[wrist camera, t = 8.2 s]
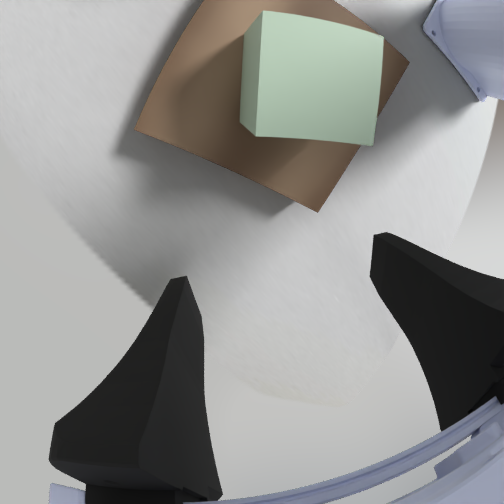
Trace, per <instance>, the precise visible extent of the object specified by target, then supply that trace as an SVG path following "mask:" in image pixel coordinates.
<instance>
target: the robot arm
mask: <svg viewBox="0 0 504 504" xmlns="http://www.w3.org/2000/svg"><path fill="white" fill-rule="evenodd" d="M423 30H424V32H425V33H426V34H427V35H428V36H429V37H430V38H431V40H432V41H433V42H434V43H435V44H436V45H437V46H438V47H439V48H440V50H441V51H442V52H443V53H444V54H445V55H446V57H447V58H448V59H449V60H450V61H451V63H452V64H453V65H454V66H455V68H456V69H457V70H458V71H459V73H460V74H461V75H462V77H463V78H464V79H465V81H466V82H467V83H468V85H469V86H470V88H471V89H472V90H473V92H474V93H475V95H476V96H477V98H478V99H479V100H480V101H482V102H484V101H485V100H486V98H487V96H490V97H494V98H497V99H501V100H504V0H437V1H436V3H435V4H434V6H433V8H432V10H431V12H430V13H429V15H428V17H427V19H426V21H425V22H424V24H423ZM432 32H433V34H432ZM370 278H371V280H372V282H373V284H374V286H375V288H376V290H377V292H378V294H379V296H380V297H381V299H382V300H383V302H384V303H385V305H386V306H387V308H388V309H389V311H390V312H391V314H392V315H393V317H394V318H395V320H396V321H397V323H398V324H399V326H400V327H401V329H402V330H403V332H404V333H405V335H406V336H407V338H408V340H409V342H410V343H411V345H412V347H413V349H414V351H415V353H416V356H417V358H418V360H419V362H420V365H421V367H422V369H423V372H424V374H425V377H426V379H427V382H428V385H429V388H430V391H431V394H432V397H433V400H434V404H435V408H436V411H437V416H438V419H439V425H440V429H441V431H442V432H440V433H438V434H437V435H435V436H433V437H431V438H429V439H427V440H425V441H424V442H422V443H420V444H418V445H416V446H414V447H412V448H410V449H408V450H406V451H404V452H401V453H399V454H397V455H395V456H392V457H390V458H388V459H385V460H383V461H381V462H378V463H376V464H373V465H371V466H368V467H366V468H363V469H361V470H358V471H355V472H352V473H349V474H346V475H343V476H340V477H337V478H333V479H330V480H327V481H323V482H320V483H316V484H313V485H309V486H305V487H301V488H297V489H292V490H288V491H283V492H278V493H273V494H267V495H262V496H255V497H248V498H240V499H232V500H223V501H222V500H221V501H218V499H220V497H221V496H222V495H223V493H222V489H221V485H220V481H219V477H218V473H217V469H216V464H215V459H214V454H213V450H212V445H211V439H210V433H209V427H208V421H207V413H206V407H205V395H204V334H203V325H202V317H201V314H200V311H199V308H198V306H197V303H196V300H195V297H194V295H193V292H192V289H191V286H190V284H189V281H188V278H187V276H183V277H179V278H174V279H171V280H170V281H169V283H168V285H167V286H166V288H165V290H164V292H163V294H162V296H161V297H160V299H159V301H158V303H157V305H156V307H155V308H154V310H153V312H152V314H151V315H150V317H149V319H148V321H147V322H146V324H145V326H144V327H143V329H142V330H141V332H140V333H139V335H138V337H137V338H136V340H135V342H134V343H133V344H132V346H131V347H130V348H129V350H128V351H127V352H126V354H125V355H124V356H123V358H122V359H121V360H120V362H119V363H118V364H117V365H116V367H115V368H114V369H113V370H112V371H111V372H110V373H109V374H108V375H107V377H106V378H105V379H104V380H103V381H102V382H101V383H100V384H99V385H98V386H97V388H95V389H94V391H92V393H90V394H89V395H88V396H87V397H86V398H85V399H84V400H83V401H82V402H81V403H80V404H79V405H77V406H76V407H75V408H74V409H73V410H71V411H70V412H69V413H67V414H66V415H65V416H64V417H62V418H61V419H60V420H59V421H57V422H56V423H55V425H54V430H53V436H52V441H51V447H50V454H49V461H50V463H51V464H52V465H53V466H54V467H55V468H56V469H58V470H60V471H61V472H63V473H65V474H67V475H69V476H71V477H73V478H75V479H77V480H79V481H81V482H83V483H85V484H86V491H83V490H80V489H76V488H72V487H67V486H63V485H59V484H54V483H51V484H50V492H49V504H324V503H328V502H331V501H334V500H337V499H341V498H344V497H347V496H350V495H352V494H356V493H358V492H361V491H364V490H366V489H369V488H372V487H374V486H377V485H379V484H382V483H384V482H386V481H389V480H391V479H393V478H395V477H398V476H400V475H402V474H404V473H406V472H408V471H410V470H412V469H414V468H416V467H418V466H420V465H422V464H424V463H426V462H428V461H429V460H431V459H433V458H435V457H437V456H438V455H440V454H442V453H443V452H445V451H447V450H449V449H450V448H452V447H453V446H455V445H456V444H458V443H460V442H461V441H463V440H464V439H466V438H467V437H469V436H470V435H472V436H471V440H470V441H469V442H467V443H466V444H465V445H463V446H461V447H460V448H459V449H457V450H456V451H455V452H454V453H453V454H451V455H450V456H449V457H447V458H446V459H444V460H443V461H442V462H440V463H438V464H437V465H435V467H434V469H435V471H436V474H437V479H435V480H434V481H432V482H430V483H428V484H427V485H424V486H423V487H421V488H419V489H417V490H415V491H413V492H411V493H409V494H407V495H405V496H403V497H401V498H398V499H396V500H394V501H392V502H389V503H387V504H504V279H500V278H496V277H493V276H489V275H486V274H482V273H479V272H476V271H474V270H471V269H468V268H466V267H463V266H460V265H458V264H456V263H453V262H451V261H449V260H447V259H444V258H442V257H440V256H438V255H436V254H434V253H431V252H429V251H427V250H425V249H423V248H421V247H419V246H417V245H415V244H413V243H411V242H409V241H407V240H405V239H402V238H400V237H398V236H396V235H393V234H391V233H388V232H385V233H380V234H376V235H374V238H373V249H372V260H371V269H370Z"/></svg>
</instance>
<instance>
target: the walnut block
mask: <svg viewBox="0 0 504 504" xmlns="http://www.w3.org/2000/svg"><path fill="white" fill-rule="evenodd" d="M263 10H264V11H273V12H281V13H288V14H295V15H301V16H306V17H312V18H317V19H322V20H326V21H331V22H335V23H339V24H343V25H347V26H351V27H354V28H358V29H361V30H365V31H368V32H371V33H374V34H378V33H377V32H376V31H374V30H373V29H372V28H371V27H369V26H368V25H367V24H366V23H364V22H363V21H362V20H360V19H359V18H358V17H356V16H355V15H354V14H352V13H351V12H350V11H348V10H347V9H345V8H344V7H343V6H341V5H340V4H338V3H337V2H335V1H334V0H204V1H203V2H202V4H201V5H200V7H199V8H198V10H197V11H196V13H195V14H194V16H193V17H192V19H191V20H190V22H189V24H188V25H187V27H186V28H185V30H184V32H183V33H182V35H181V37H180V38H179V40H178V42H177V43H176V45H175V47H174V49H173V50H172V52H171V54H170V56H169V58H168V59H167V61H166V63H165V65H164V67H163V69H162V71H161V73H160V75H159V76H158V78H157V80H156V82H155V84H154V86H153V89H152V91H151V93H150V95H149V97H148V99H147V101H146V103H145V105H144V108H143V110H142V112H141V114H140V117H139V119H138V121H137V124H136V126H135V128H134V130H136V131H139V132H141V133H144V134H146V135H149V136H151V137H154V138H156V139H159V140H161V141H164V142H166V143H169V144H171V145H174V146H176V147H179V148H181V149H183V150H186V151H188V152H190V153H193V154H195V155H197V156H200V157H202V158H204V159H207V160H209V161H211V162H214V163H216V164H218V165H220V166H223V167H225V168H227V169H229V170H231V171H234V172H236V173H238V174H240V175H242V176H244V177H247V178H249V179H251V180H253V181H255V182H257V183H259V184H261V185H263V186H266V187H268V188H270V189H272V190H274V191H276V192H278V193H280V194H282V195H284V196H286V197H288V198H290V199H292V200H294V201H296V202H298V203H300V204H302V205H304V206H306V207H308V208H310V209H312V210H314V211H316V212H317V213H318V212H319V210H320V209H321V207H322V206H323V204H324V202H325V201H326V199H327V198H328V196H329V195H330V193H331V192H332V190H333V188H334V187H335V185H336V184H337V182H338V181H339V179H340V177H341V176H342V174H343V173H344V171H345V170H346V168H347V166H348V165H349V163H350V162H351V160H352V158H353V157H354V155H355V154H356V152H357V150H358V149H359V147H360V145H359V144H351V143H343V142H334V141H324V140H312V139H299V138H283V137H258V136H255V135H254V134H252V133H251V132H250V131H249V130H248V129H247V128H246V127H245V126H244V125H242V124H241V123H240V100H241V79H242V60H243V42H244V33H245V32H246V31H247V29H248V28H249V27H250V26H251V24H252V23H253V22H254V21H255V19H256V18H257V17H258V16H259V14H260V13H261V12H262V11H263ZM378 35H379V34H378ZM409 63H410V62H409V61H408V60H407V59H406V58H405V57H404V56H403V55H402V54H401V53H400V52H398V51H397V50H396V49H395V48H394V47H393V46H392V45H391V44H390V43H388V42H387V41H386V40H385V39H384V41H383V60H382V73H381V85H380V95H379V104H378V113H377V118H378V116H379V114H380V113H381V111H382V109H383V108H384V106H385V104H386V102H387V101H388V99H389V97H390V96H391V94H392V92H393V91H394V89H395V87H396V85H397V84H398V82H399V80H400V79H401V77H402V75H403V73H404V72H405V70H406V68H407V66H408V65H409Z"/></svg>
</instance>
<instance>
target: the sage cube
mask: <svg viewBox="0 0 504 504" xmlns="http://www.w3.org/2000/svg"><path fill="white" fill-rule="evenodd" d="M383 41H384V36H381V35H378V34H374V33H371V32H368V31H365V30H361V29H358V28H354V27H351V26H347V25H343V24H339V23H335V22H331V21H326V20H322V19H317V18H312V17H306V16H301V15H295V14H288V13H281V12H273V11H264V10H263V11H262V12H261V13H260V14H259V16H258V17H257V18H256V19H255V21H254V22H253V23H252V24H251V26H250V27H249V28H248V29H247V31H246V32H245V33H244V42H243V60H242V79H241V100H240V123H241V124H242V125H244V126H245V127H246V128H247V129H248V130H249V131H250V132H251V133H252V134H254V135H255V136H258V137H283V138H299V139H312V140H324V141H334V142H343V143H351V144H359V145H367V146H373V142H374V135H375V128H376V121H377V113H378V104H379V95H380V85H381V73H382V60H383Z"/></svg>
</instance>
